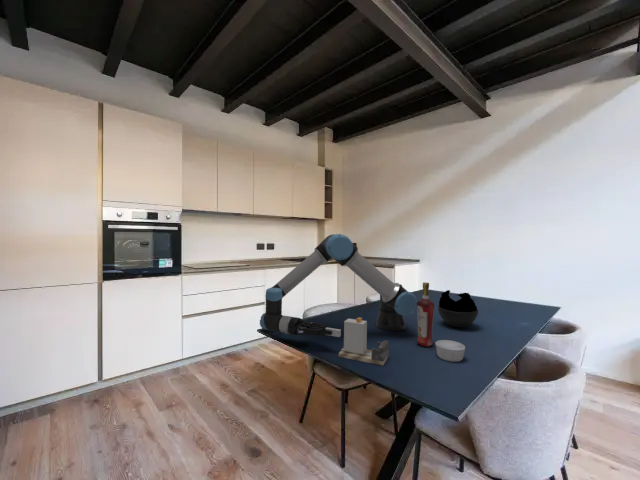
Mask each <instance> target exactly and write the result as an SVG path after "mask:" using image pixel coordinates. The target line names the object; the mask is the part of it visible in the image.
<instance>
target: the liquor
mask: <svg viewBox="0 0 640 480" xmlns="http://www.w3.org/2000/svg"><path fill="white" fill-rule="evenodd" d="M429 289H430V283H429V282H422V298H421V299H420V300H417V307H416V309H417V310H416V312H417V313H416V315H417V317H416V318H417V340H416V343H418V345H419V346H421V347H424V348H429V347H431V346H432V345H433V344H434V343H433V329H434V328H433V327H434V325H433V324H434V315H435V314H434V312H435V303H434V302H433V301H431V300H430V294H429V292H430V291H429Z"/></svg>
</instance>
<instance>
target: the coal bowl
mask: <svg viewBox="0 0 640 480" xmlns="http://www.w3.org/2000/svg"><path fill="white" fill-rule="evenodd" d="M450 293H451V290H450V289H449V290H448V289H447V290H445V291H444V292H442V293H441V296H440V298H439V300H438V306H437V310H438V314H439V316H440V317H441V319H442V320H443V321H444V322H445V323H446V324H448V325H450V326H452V327H455V328H465V327H467V326H470V325H471V324H473V322H475V320H476V319H477V317H478V316H479V315H478V314H479V310H478V307H477V305H476V302H475V300H474V299H473V298H471V294H470V293H469V292H461V293H458V294H457V296H458V297H460V299H457V300H454V299H452V298H451V296H450Z"/></svg>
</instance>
